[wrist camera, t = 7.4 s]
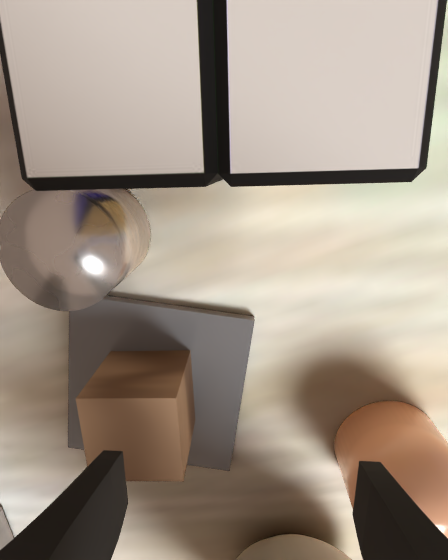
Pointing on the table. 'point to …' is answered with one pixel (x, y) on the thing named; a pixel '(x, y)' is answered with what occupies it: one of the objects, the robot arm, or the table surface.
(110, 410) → the walnut block
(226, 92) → the puzzle cube
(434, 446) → the tan rounded cylinder
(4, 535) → the tankard
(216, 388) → the slate coaster
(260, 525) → the table surface
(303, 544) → the beige bottle
